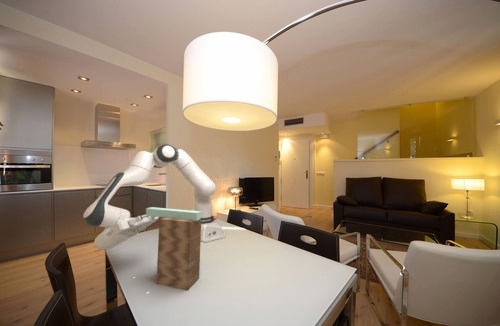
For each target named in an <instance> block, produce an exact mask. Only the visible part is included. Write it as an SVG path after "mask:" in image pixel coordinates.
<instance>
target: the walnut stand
mask: <svg viewBox="0 0 500 326" xmlns="http://www.w3.org/2000/svg"><path fill="white" fill-rule="evenodd" d="M158 221H159V222H158V223H159V225H158V242H157V243H158V245H157V261H156V262H157V263H156V265H157V267H156V280H155V281H156V282H155V283H156V284H157V285H160V286H167V287H171V288H175V289H180V290H184V291H189V290H190V289H191V288H192V287H193V285H195V284H196V283H197V282H198V281H199V279H200V270H201V268H200V267H201V262H200V261H201V243H202V241H201V219H199V220H197V221H194V220H184V219H174V218H165V217H160V218H158Z"/></svg>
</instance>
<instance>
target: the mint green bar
mask: <svg viewBox="0 0 500 326" xmlns="http://www.w3.org/2000/svg"><path fill="white" fill-rule="evenodd" d="M145 215H146V216H155V217H159V218H164V217H165V218H174V219H184V220H194V221H197V220H199V219H201V211H195V210H190V209H189V210H187V209H177V208H166V207H153V206H151V207H146V208H145Z"/></svg>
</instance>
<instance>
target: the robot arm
mask: <svg viewBox="0 0 500 326" xmlns="http://www.w3.org/2000/svg"><path fill="white" fill-rule="evenodd" d="M169 164H172V165H174V167H175V168H176V169H177V170H178V171H179V172H180V173H181V175H182V176H183V177H184V178H185V179H186V181H188V182H189V183H190V184H191V186H192V187H193V189H194V191H193V192H194V211H201V242H204V243H208V242H213V241H216V240H219V239H225V238H226V237H227V236H226V233H225V232H223V228H222V226H221V224H219V223H217V221H216V220H217V218H218V217H216V216H214V215H213V214H212V213H213V203H212V197H211V196H213V194H215V192H216V190H217V188H216V187H217V186H216V184H215V183H214V181H213V180H212V179H211V178H210V177H209V176H208V175H207V174H206V173H205V172H204V171H203V169H202V168H201V167H199V165H198V164H197V163H196V161H195V160H194V159H193V158H192V157H191V156H190V155H189V154H188V153H187V152H186V151H185V150H184V149H181V148H179V149H178V148H176V147H174V146H173V145H171V144H168V143H165V144H162V145H159V146H158V147H157V148H155V149H154V150H153V151H152V152H150V151H146V150H141V151H138V152H136V154H135V155H134V156H133V158H132V159H131V160H130V163H129V165H128V166H127V168H126V169H125V170H124V171H123V172H118V173H116V174H115V175H114V176H113V177H112V179H110V181H109V182H108V183H107V184H106V186H104V188H103V189H102V191H101V192H100V193H99V195H98V196H97V197H96V198H95V200H94V201H92V203H91V204H90V205H89V206H88V207H87V208H86V209H85V210H84V213H83V214H82V218H83V219H82V220H83V221H84V223H85V225H87V226H88V227H89V226H91V227H99V228H100V227H101V228H104V229H103V230H102V232H101V233H99V234H98V235H97V236H96V237H95V239H94V242H93V243H94V246H95V247H96V248H98V249H99V250H101V251H107V250H110V249H113V248H116V247H117V246H119V245H121V244H122V243H123V242H125V241H128V240H129V239H131V238H133V237H135V236H136V235H137V234H139V233H140V232H142V231H144V230H146V229H147V227H149V226H150V225H152V224H153V223H155V222H156V221H159V219H160V217H155V216H146V214H143V215H138V216H136V217H132V214H131V212H130V211H129V210H128V209H125V208H122V207H117V206H114V205H110V204H109V202H110V200H111V199H112V197H114V195H115V194H116V192H117V191H118V190H119V189H120V188H121V187H125V186H130V187H131V186H133V187H134V186H136V187H137V186H140V185H143V184H145V183H146V182H147V181H148V179H149V177H150V174H151V172H152V170H153V168H156V169H161V168H164V167H166V166H168V165H169Z"/></svg>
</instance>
